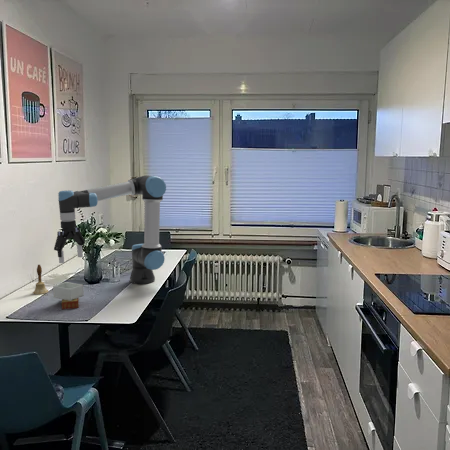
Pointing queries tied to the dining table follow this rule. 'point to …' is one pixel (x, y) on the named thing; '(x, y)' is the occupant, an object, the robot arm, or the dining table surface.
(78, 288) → the crate
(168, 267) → the dining table surface
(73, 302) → the carton
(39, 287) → the hand bell
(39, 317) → the dining table surface
